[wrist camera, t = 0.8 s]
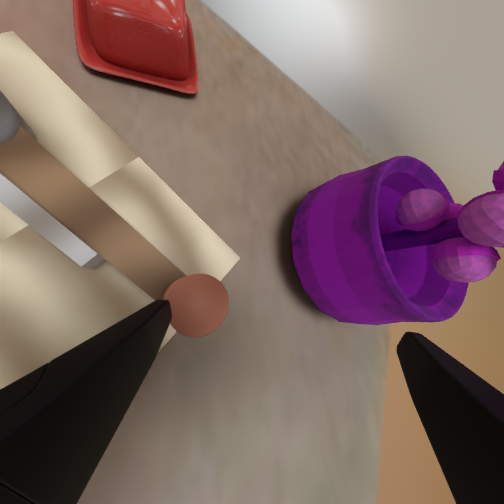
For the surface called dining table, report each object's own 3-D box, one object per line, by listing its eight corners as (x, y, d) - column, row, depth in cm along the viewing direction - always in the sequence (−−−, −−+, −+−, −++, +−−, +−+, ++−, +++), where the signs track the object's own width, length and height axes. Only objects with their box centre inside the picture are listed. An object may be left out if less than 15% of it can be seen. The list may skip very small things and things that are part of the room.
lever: (-84, 127, 13) (-461, -123, 5) (-2, 98, 15) (-180, -114, 7) (171, 332, 18) (184, 370, 10) (209, 289, 20) (245, 291, 12)
